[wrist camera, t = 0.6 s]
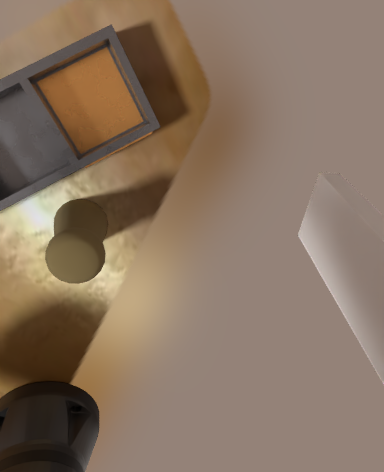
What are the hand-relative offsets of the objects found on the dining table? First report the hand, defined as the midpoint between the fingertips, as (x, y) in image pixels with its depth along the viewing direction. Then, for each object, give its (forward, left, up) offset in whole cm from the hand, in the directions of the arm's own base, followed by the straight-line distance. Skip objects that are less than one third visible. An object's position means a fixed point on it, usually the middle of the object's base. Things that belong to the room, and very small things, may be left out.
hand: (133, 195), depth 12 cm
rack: (-1, +9, -27) cm, 29 cm away
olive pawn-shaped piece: (-10, +3, -27) cm, 29 cm away
